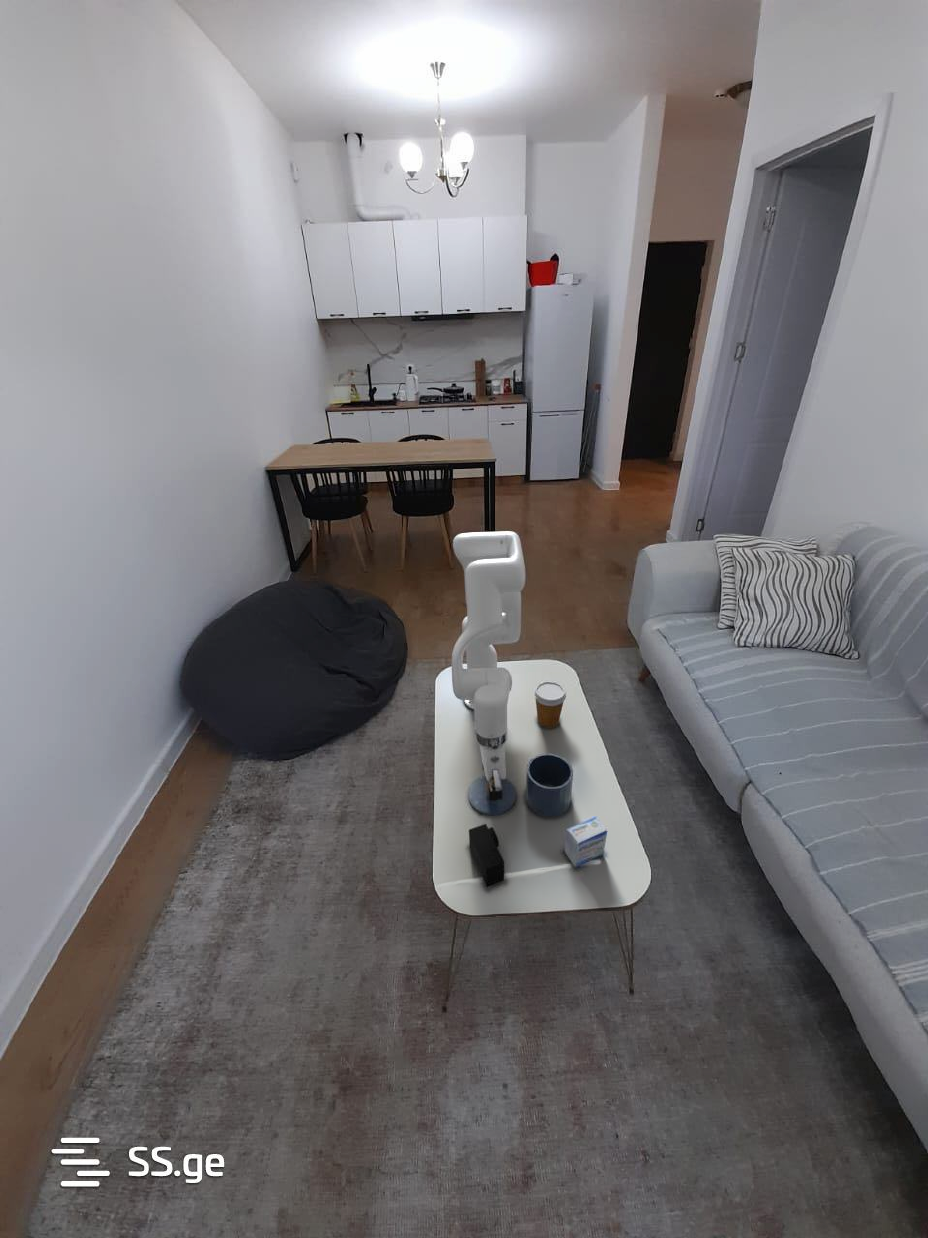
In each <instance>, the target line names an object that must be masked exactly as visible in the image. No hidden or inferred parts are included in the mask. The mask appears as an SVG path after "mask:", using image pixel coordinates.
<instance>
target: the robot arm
mask: <svg viewBox="0 0 928 1238" xmlns="http://www.w3.org/2000/svg"><path fill="white" fill-rule="evenodd" d="M452 549H453V553H454V555H455V557H456V558H457V560H458V562H459V563H460V564H461V566H462V569H463V575H464V595H465V604H466V616H465V617H464V618H463V620H462V623H461V631H462V633H461V635H460V636H459V637H458V639H457V641H456V642H455V644H454V646H453V650H452V653H451V660H450V661H451V682H452V686H451V687H452V692H453V694H454V696H455V698H457V699H458V700H460V701H463V702H464V704H465V705H466V706H467V707H468V708H470V709H472V710H473V711H474V738H475V743H477V745H478V746H479V747H480V748H479V749H480V757H481V765H482V767H481V769H482V771H484V774H485V775H484V776H486V779H487V780H488V781H489V784H490V788H489V800H490V801H493V800H501V799H502V785H501V779H506V778H507V769H506V768H507V766H506V751H505V744H506V743H507V740H508V702H509V696H510V693H511V691H512V688H513V687H512V686H513V678H512V677H513V676H512V674H511V672H510V671H509V670H508V669H507V668H506V667H498V653H497V651H496V649H495V647H494V646H493V645H506V644H514V643H517V642H518V641H519V640H520V637H521V632H522V591H523V589H524V588H525V585H526V565H525V559H524V554H523V548H522V542H521V538H520V536H519V535H518V533H517V532H515V531H511V530H505V531H504V530H503V531H502V530H501V531H478V532H477V531H476V532H475V531H473V532H463V533H458V534H457V535H455V537H454V538H453V540H452ZM464 654H465V655H466V657H465V658H466V668H464V665H463V661H464ZM492 774H493V777H492ZM492 780H494V785H495V786H492Z"/></svg>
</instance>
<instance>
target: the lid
mask: <svg viewBox="0 0 928 1238" xmlns="http://www.w3.org/2000/svg"><path fill="white" fill-rule="evenodd" d="M492 777H493V774H492ZM501 785H502V799H501V800H493V801H490V800H489V788H490V784H489V781H488V780H487V779H486V775H484V776H481V777H479V778H477V779H476V780H475V781H473V782H472V784H471V785H470V787H469V789H468V801H469V804H470V805H471V806H472V808H473V809H474V810H476V811H477V812H478V813H480V814H482V815H487V816H499V815H502V814H505V813H506V812H508V811H510V810H511V808H512V807H514V804H515V802H516V799H517V798H516V797H517V792H516V789H515V787H514V785H513V784H512V783H511V782H510V781H509V780H508V779H506V778H505V779H501ZM492 786H495V785H494V780H492Z"/></svg>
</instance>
